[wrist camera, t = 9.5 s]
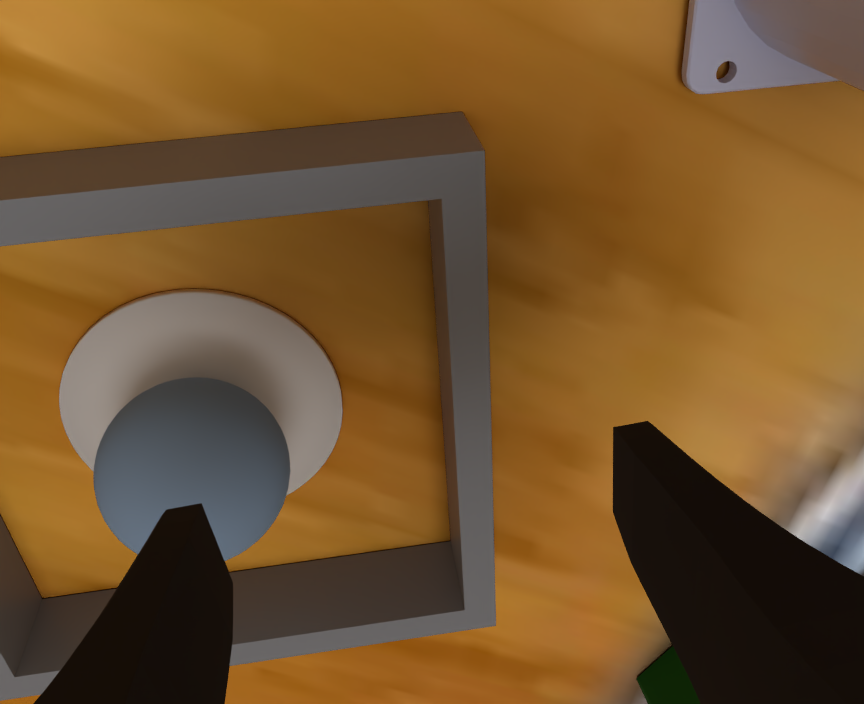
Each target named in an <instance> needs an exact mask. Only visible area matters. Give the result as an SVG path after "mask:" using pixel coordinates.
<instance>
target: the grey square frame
mask: <svg viewBox="0 0 864 704" xmlns="http://www.w3.org/2000/svg"><path fill="white" fill-rule="evenodd" d="M426 200H428V208H429V223H430V238H431V253H432V268H433V283H434V298H435V313H436V328H437V343H438V358H439V373H440V389H441V404H442V419H443V434H444V449H445V464H446V479H447V494H448V509H449V524H450V539H451V541H448V542H441V543H434V544H427V545H420V546H413V547H406V548H399V549H392V550H385V551H378V552H371V553H364V554H357V555H350V556H343V557H336V558H329V559H322V560H315V561H308V562H301V563H294V564H286V565H279V566H272V567H265V568H258V569H251V570H244V571H237V572H230V573H229V574H230V576H231V579H232V581H233V642H232V650H231V658H230V666H232V665H239V664H246V663H252V662H259V661H265V660H272V659H279V658H285V657H292V656H299V655H305V654H312V653H318V652H325V651H332V650H338V649H345V648H351V647H358V646H365V645H371V644H378V643H385V642H391V641H398V640H404V639H411V638H418V637H424V636H431V635H437V634H444V633H451V632H457V631H464V630H471V629H477V628H484V627H490V626H496V607H495V565H494V523H493V480H492V438H491V395H490V353H489V311H488V268H487V226H486V183H485V150H484V148H483V147H482V145H481V143H480V142H479V140H478V138H477V136H476V135H475V133H474V131H473V129H472V128H471V126H470V124H469V123H468V121H467V119H466V117H465V116H464V114H463V112H454V113H443V114H433V115H423V116H413V117H403V118H393V119H383V120H373V121H363V122H353V123H343V124H332V125H322V126H312V127H302V128H292V129H282V130H272V131H262V132H252V133H242V134H232V135H221V136H211V137H201V138H191V139H181V140H171V141H161V142H151V143H141V144H131V145H121V146H110V147H100V148H90V149H80V150H70V151H60V152H50V153H40V154H30V155H20V156H10V157H0V246H8V245H17V244H26V243H35V242H45V241H54V240H63V239H73V238H82V237H91V236H101V235H110V234H119V233H128V232H138V231H147V230H156V229H166V228H175V227H184V226H193V225H203V224H212V223H221V222H231V221H240V220H249V219H258V218H268V217H277V216H286V215H296V214H305V213H314V212H324V211H333V210H342V209H351V208H361V207H370V206H379V205H389V204H398V203H407V202H416V201H426ZM192 377H202V378H211V379H217V380H221V381H225V382H228V383H230V384H233V385H235V386H238V387H240V388H242V389H244V390H245V391H247V392H249V393H250V394H252V395H253V396H255V397H256V398H257V399H258V400H259V401H260V402H261V403H263V404H264V405H265V406H266V407H267V408H268V410H269V411H270V412H271V413H272V414H273V416H274V417H275V419H276V421H277V422H278V424H279V426H280V427H281V429H282V432H283V434H284V436H285V439H286V443H287V446H288V451H289V457H290V479H289V487H288V491H287V494H286V495H288V494H290V493H292V492H293V491H295V490H296V489H298V488H299V487H301V486H302V485H303V484H305V483H306V482H307V481H308V480H309V479H310V478H311V477H313V476H314V475H315V474H316V473H317V471H318V470H319V469H320V468H321V467H322V466H323V464H324V463H325V462H326V460H327V459H328V457H329V455H330V454H331V452H332V450H333V448H334V446H335V444H336V441H337V439H338V436H339V432H340V428H341V422H342V412H343V410H342V396H341V388H340V384H339V380H338V376H337V374H336V371H335V369H334V367H333V364H332V362H331V361H330V359H329V357H328V355H327V354H326V352H325V350H324V349H323V348H322V347H321V345H320V344H319V343H318V342H317V340H316V339H315V338H314V337H313V336H312V335H311V334H310V333H309V332H308V331H307V330H306V329H305V328H304V327H303V326H301V325H300V324H299V323H297V322H296V321H295V320H293V319H292V318H290V317H289V316H288V315H286V314H284V313H283V312H281V311H279V310H277V309H275V308H274V307H272V306H270V305H267V304H265V303H262V302H260V301H258V300H255V299H253V298H249V297H246V296H242V295H239V294H235V293H230V292H224V291H218V290H208V289H181V290H171V291H165V292H159V293H154V294H151V295H147V296H144V297H141V298H137V299H135V300H133V301H130V302H128V303H126V304H124V305H121V306H119V307H118V308H116V309H114V310H113V311H111V312H109V313H108V314H106V315H105V316H103V317H102V318H101V319H100V320H98V321H97V322H96V323H95V324H94V325H92V326H91V327H90V328H89V330H88V331H87V332H86V333H85V334H84V335H83V336H82V337H81V339H80V340H79V342H78V343H77V345H76V346H75V348H74V350H73V351H72V353H71V355H70V357H69V359H68V362H67V364H66V367H65V369H64V371H63V375H62V379H61V384H60V392H59V405H60V413H61V419H62V422H63V425H64V428H65V431H66V434H67V436H68V438H69V440H70V442H71V444H72V446H73V447H74V449H75V450H76V452H77V453H78V454H79V456H80V457H81V459H82V460H83V461H84V462H85V463H86V464H87V465H88V466H89V468H90V469H91V470H92V471H93V472H94V464H95V458H96V454H97V450H98V447H99V444H100V441H101V439H102V437H103V435H104V433H105V431H106V429H107V427H108V425H109V424H110V423H111V421H112V420H113V419H114V417H115V416H116V415H117V414H118V412H119V411H120V410H121V409H122V408H123V407H124V406H125V405H126V404H128V403H129V402H130V401H131V400H132V399H133V398H135V397H136V396H138V395H139V394H141V393H142V392H144V391H146V390H148V389H150V388H152V387H154V386H156V385H158V384H161V383H164V382H167V381H171V380H175V379H182V378H192ZM115 591H116V589H110V590H103V591H96V592H89V593H82V594H75V595H68V596H61V597H54V598H47V599H42V598H41V596H40V594H39V592H38V590H37V588H36V586H35V584H34V582H33V580H32V578H31V576H30V574H29V572H28V570H27V568H26V566H25V564H24V562H23V560H22V558H21V556H20V554H19V552H18V550H17V548H16V546H15V544H14V542H13V540H12V538H11V536H10V534H9V532H8V530H7V528H6V526H5V524H4V522H3V520H2V518H1V516H0V701H1V700H7V699H14V698H21V697H27V696H34V695H40V694H42V693H43V692H44V690H45V689H46V688H47V687H48V685H49V684H50V683H51V682H52V680H53V679H54V678H55V676H56V675H57V674H58V672H59V671H60V670H61V669H62V667H63V666H64V665H65V663H66V662H67V660H68V659H69V658H70V656H71V655H72V653H73V652H74V651H75V649H76V648H77V646H78V645H79V644H80V642H81V641H82V639H83V638H84V637H85V635H86V634H87V632H88V631H89V630H90V628H91V627H92V625H93V624H94V623H95V621H96V620H97V618H98V617H99V615H100V614H101V612H102V611H103V609H104V608H105V606H106V605H107V603H108V601H109V600H110V598H111V597H112V595H113V594H114V592H115Z"/></svg>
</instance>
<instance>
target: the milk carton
mask: <svg viewBox="0 0 864 704" xmlns="http://www.w3.org/2000/svg"><path fill="white" fill-rule="evenodd" d="M637 681H638V683H639V685H640V688H641V690H642V692H643V694H644V696H645V698H646V701H647V703H648V704H700V701H699V699H698V697H697V694H696V692H695V690H694V688H693V686H692V683H691V681H690V679H689V677H688V675H687V673H686V671H685V669H684V667H683V665H682V663H681V661H680V659H679V657H678V655H677V653H676V651H675V649H674V647H673V646H672V647H671V648H670V649H669V650H668V651H666V652H665V653H664V654H663V655H662V656H661V657H660V658H659V659H657V660H656V661H655V662H654V663H653V664H652V665H651V666H650V667H649V668H647V669H646V670H645V671H644V672H643V673H642V674H641V675H640V676H639V677H638V678H637Z"/></svg>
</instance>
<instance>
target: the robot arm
mask: <svg viewBox="0 0 864 704" xmlns="http://www.w3.org/2000/svg"><path fill="white" fill-rule="evenodd" d="M726 61H729V65H730V68H729V71H728V73H727V74H726V75H725V76H724V77H723V78H721V79H717V78H716V72H717V69H718V67H719V66H720V65H721V64H722V63H724V62H726ZM682 81H683V83H684V85H685V86H686V87H687V88H688V89H690V90H692V91H693V92H695V93H696V94H711V93H721V92H731V91H742V90H752V89H762V88H772V87H782V86H792V85H802V84H812V83H822V82H832V81H842V82H845V83H847V84H849V85H851V86H854V87H856V88H858V89H861V90H863V91H864V0H690V1H689V10H688V19H687V28H686V37H685V46H684V55H683V64H682ZM613 513H614V516H615V519H616V522H617V525H618V528H619V531H620V533H621V536H622V539H623V542H624V545H625V547H626V550H627V553H628V555H629V558H630V561H631V563H632V565H633V568H634V570H635V572H636V574H637V576H638V578H639V580H640V582H641V584H642V586H643V588H644V590H645V592H646V594H647V596H648V598H649V600H650V602H651V604H652V606H653V608H654V610H655V612H656V614H657V616H658V618H659V619H660V621H661V623H662V625H663V627H664V629H665V631H666V633H667V635H668V637H669V639H670V641H671V643H672V645H673V647H674V649H675V651H676V653H677V655H678V657H679V659H680V661H681V663H682V665H683V667H684V669H685V671H686V673H687V675H688V677H689V679H690V681H691V683H692V686H693V688H694V690H695V692H696V694H697V697H698V699H699V701H700V704H864V576H862V575H860V574H858V573H856V572H854V571H853V570H851V569H849V568H847V567H845V566H843V565H842V564H840V563H838V562H837V561H835V560H833V559H832V558H830V557H828V556H827V555H825V554H823V553H822V552H820V551H818V550H817V549H815V548H813V547H811V546H810V545H808V544H806V543H805V542H803V541H802V540H800V539H799V538H797V537H796V536H794V535H793V534H791V533H790V532H788V531H787V530H785V529H784V528H782V527H781V526H779V525H778V524H776V523H775V522H774V521H772V520H771V519H769V518H768V517H766V516H765V515H764V514H762V513H761V512H759V511H758V510H757V509H755V508H754V507H753V506H751V505H750V504H748V503H747V502H746V501H744V500H743V499H742V498H741V497H739V496H738V495H737V494H735V493H734V492H733V491H732V490H730V489H729V488H728V487H726V486H725V485H724V484H723V483H721V482H720V481H719V480H717V479H716V478H715V477H714V476H712V475H711V474H710V473H709V472H707V471H706V470H705V469H704V468H703V467H701V466H700V465H699V464H698V463H697V462H695V461H694V460H693V459H692V458H691V457H689V456H688V455H687V454H686V453H685V452H684V451H682V450H681V449H680V448H679V447H678V446H677V445H675V444H674V443H673V442H672V441H671V440H670V439H668V438H667V437H666V436H665V435H664V434H663V433H662V432H660V431H659V430H658V429H657V428H656V427H655V426H653V425H652V424H651V423H649V422H648V421H645V422H640V423H634V424H629V425H623V426H618V427H613ZM232 642H233V581H232V579H231V576H230V574H229V571H228V569H227V566H226V564H225V561H224V559H223V556H222V554H221V551H220V548H219V546H218V543H217V541H216V538H215V536H214V533H213V531H212V528H211V526H210V523H209V521H208V518H207V516H206V513H205V511H204V508H203V505H202V503H199V504H194V505H188V506H183V507H178V508H172V509H167V510H165V512H164V513H163V514H162V516H161V517H160V519H159V521H158V522H157V524H156V525H155V527H154V529H153V530H152V532H151V534H150V536H149V537H148V539H147V541H146V542H145V544H144V546H143V547H142V549H141V551H140V552H139V554H138V556H137V557H136V559H135V560H134V562H133V564H132V565H131V567H130V569H129V570H128V572H127V573H126V575H125V577H124V578H123V580H122V581H121V583H120V584H119V586H118V588H117V589H116V591H115V592H114V594H113V595H112V597H111V598H110V600H109V601H108V603H107V605H106V606H105V608H104V609H103V611H102V612H101V614H100V615H99V617H98V618H97V620H96V621H95V623H94V624H93V625H92V627H91V628H90V630H89V631H88V632H87V634H86V635H85V637H84V638H83V639H82V641H81V642H80V644H79V645H78V646H77V648H76V649H75V651H74V652H73V653H72V655H71V656H70V658H69V659H68V660H67V662H66V663H65V665H64V666H63V667H62V669H61V670H60V671H59V672H58V674H57V675H56V676H55V678H54V679H53V680H52V682H51V683H50V684H49V685H48V687H47V688H46V689H45V690H44V692H43V693H42V694H41V695H40V697H39V698H38V699H37V700H36V701H35V703H34V704H224V703H225V696H226V688H227V681H228V673H229V666H230V658H231V650H232Z"/></svg>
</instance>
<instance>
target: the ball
mask: <svg viewBox="0 0 864 704" xmlns="http://www.w3.org/2000/svg"><path fill="white" fill-rule="evenodd" d="M289 479H290V457H289V451H288V446H287V443H286V439H285V436H284V434H283V432H282V429H281V427H280V426H279V424H278V422H277V421H276V419H275V417H274V416H273V414H272V413H271V412H270V411H269V410H268V408H267V407H266V406H265V405H264V404H263V403H261V402H260V401H259V400H258V399H257V398H256V397H255V396H253V395H252V394H250V393H249V392H247V391H245V390H244V389H242V388H240V387H238V386H235V385H233V384H230V383H228V382H225V381H221V380H217V379H211V378H202V377H192V378H182V379H175V380H171V381H167V382H164V383H161V384H158V385H156V386H154V387H152V388H150V389H148V390H146V391H144V392H142V393H141V394H139V395H138V396H136V397H135V398H133V399H132V400H131V401H130V402H129V403H128V404H126V405H125V406H124V407H123V408H122V409H121V410H120V411H119V412H118V414H117V415H116V416H115V417H114V419H113V420H112V421H111V423H110V424H109V425H108V427H107V429H106V431H105V433H104V435H103V437H102V439H101V441H100V444H99V447H98V450H97V454H96V458H95V464H94V490H95V495H96V499H97V503H98V506H99V509H100V511H101V513H102V516H103V518H104V520H105V522H106V523H107V525H108V527H109V528H110V529H111V531H112V532H113V533H114V534H115V536H116V537H117V538H118V539H119V540H120V541H121V542H122V543H123V544H124V545H125V546H127V547H128V548H129V549H131V550H132V551H134V552H135V553H137V554H139V552H140V551H141V549H142V547H143V546H144V544H145V542H146V541H147V539H148V537H149V536H150V534H151V532H152V530H153V529H154V527H155V525H156V524H157V522H158V521H159V519H160V517H161V516H162V514H163V513H164V512H165V510H167V509H172V508H178V507H183V506H188V505H194V504H199V503H202V505H203V508H204V511H205V513H206V516H207V518H208V521H209V523H210V526H211V528H212V531H213V533H214V536H215V538H216V541H217V543H218V546H219V548H220V551H221V554H222V556H223V559H224V561H226V560H228V559H230V558H232V557H234V556H236V555H239V554H240V553H242V552H243V551H245V550H246V549H248V548H249V547H250V546H252V545H253V544H254V543H255V542H257V541H258V540H259V539H260V538H261V537H262V536H263V535H264V534H265V533H266V531H267V530H268V529H269V528H270V526H271V525H272V524H273V522H274V521H275V519H276V517H277V516H278V514H279V512H280V510H281V508H282V506H283V504H284V500H285V497H286V494H287V491H288V487H289Z"/></svg>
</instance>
